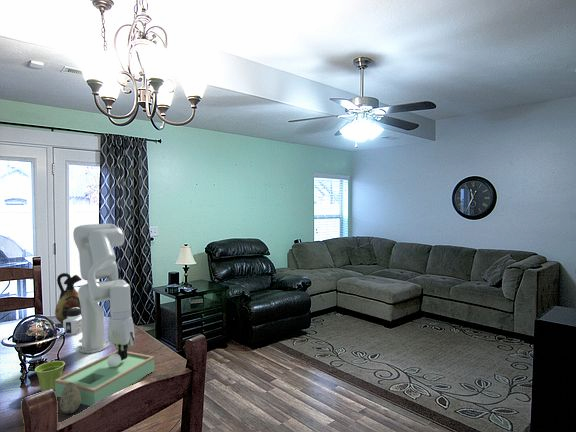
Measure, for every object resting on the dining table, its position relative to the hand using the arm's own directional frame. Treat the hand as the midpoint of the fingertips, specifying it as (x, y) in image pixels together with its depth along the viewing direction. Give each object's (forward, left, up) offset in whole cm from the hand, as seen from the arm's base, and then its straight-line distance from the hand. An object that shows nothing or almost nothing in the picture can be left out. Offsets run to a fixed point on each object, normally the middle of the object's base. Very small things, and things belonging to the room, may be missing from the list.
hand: (122, 358), depth 145 cm
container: (-65, +27, -7) cm, 71 cm away
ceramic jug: (-80, +35, -7) cm, 88 cm away
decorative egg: (+5, -26, -7) cm, 27 cm away
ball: (0, -4, +1) cm, 4 cm away
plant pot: (-17, -18, -7) cm, 26 cm away
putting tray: (0, -7, -6) cm, 10 cm away
